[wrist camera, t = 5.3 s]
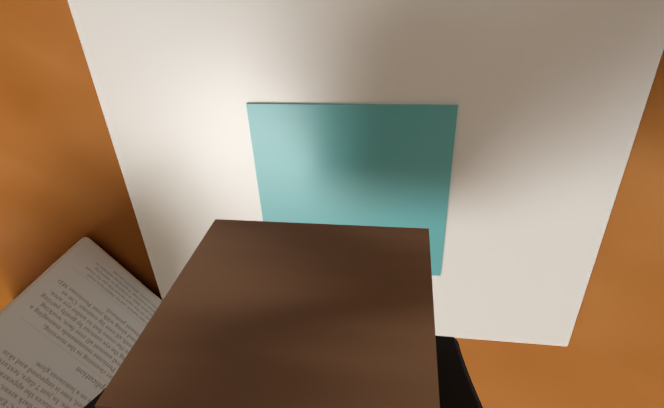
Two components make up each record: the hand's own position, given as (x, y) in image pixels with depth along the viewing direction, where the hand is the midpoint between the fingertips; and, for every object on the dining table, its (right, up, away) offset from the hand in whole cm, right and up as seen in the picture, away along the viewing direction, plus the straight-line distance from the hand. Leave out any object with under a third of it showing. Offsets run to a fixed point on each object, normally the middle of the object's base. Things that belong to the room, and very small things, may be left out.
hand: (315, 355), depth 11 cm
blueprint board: (+1, +4, +6) cm, 8 cm away
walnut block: (0, +1, +1) cm, 2 cm away
